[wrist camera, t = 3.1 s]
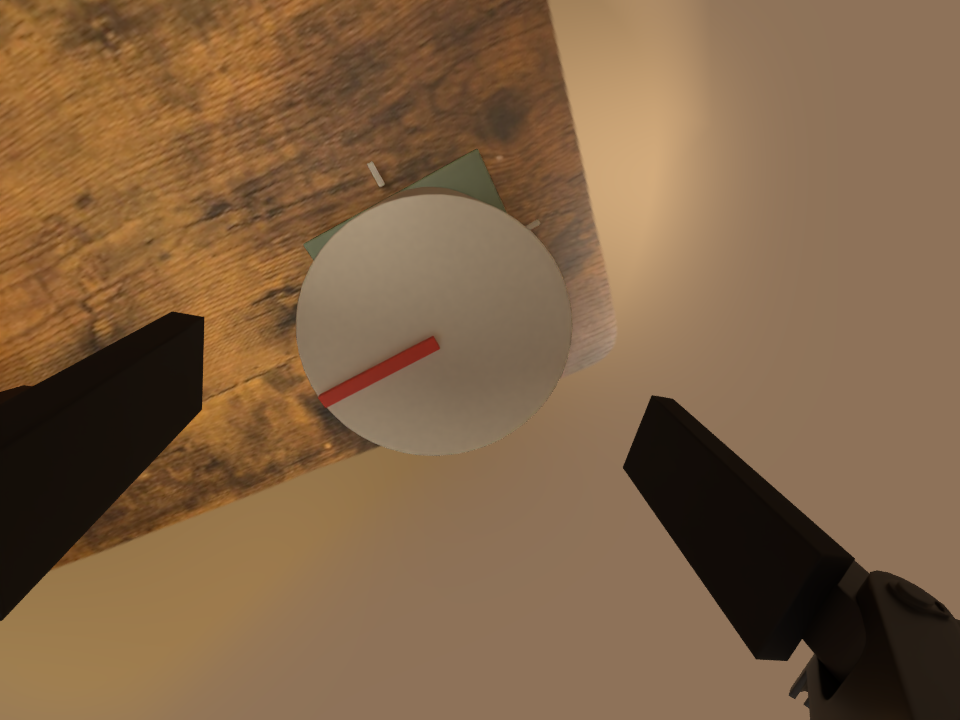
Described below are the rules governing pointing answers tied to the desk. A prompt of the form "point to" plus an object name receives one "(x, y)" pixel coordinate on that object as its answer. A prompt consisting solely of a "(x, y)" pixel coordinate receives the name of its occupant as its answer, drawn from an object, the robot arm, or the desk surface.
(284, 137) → the desk surface
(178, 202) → the desk surface
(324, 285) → the beige cylindrical knob
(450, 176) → the dial base plate
